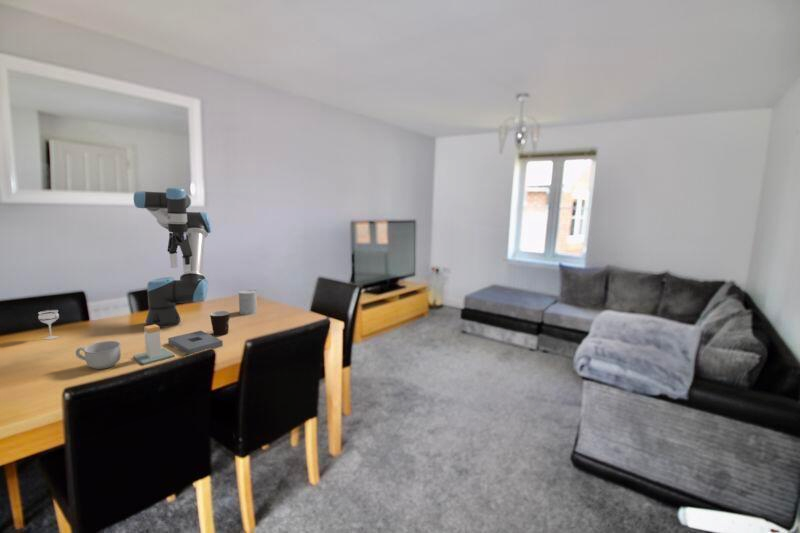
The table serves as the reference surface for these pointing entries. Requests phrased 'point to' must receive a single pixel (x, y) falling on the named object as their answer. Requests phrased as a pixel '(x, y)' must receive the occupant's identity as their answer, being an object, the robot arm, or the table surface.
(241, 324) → the table surface
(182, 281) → the robot arm
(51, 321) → the wineglass
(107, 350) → the teacup
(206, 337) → the grey flat block
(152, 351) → the white tall block
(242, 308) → the grey canister
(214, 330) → the coffee mug
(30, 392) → the table surface
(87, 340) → the table surface
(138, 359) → the pad
